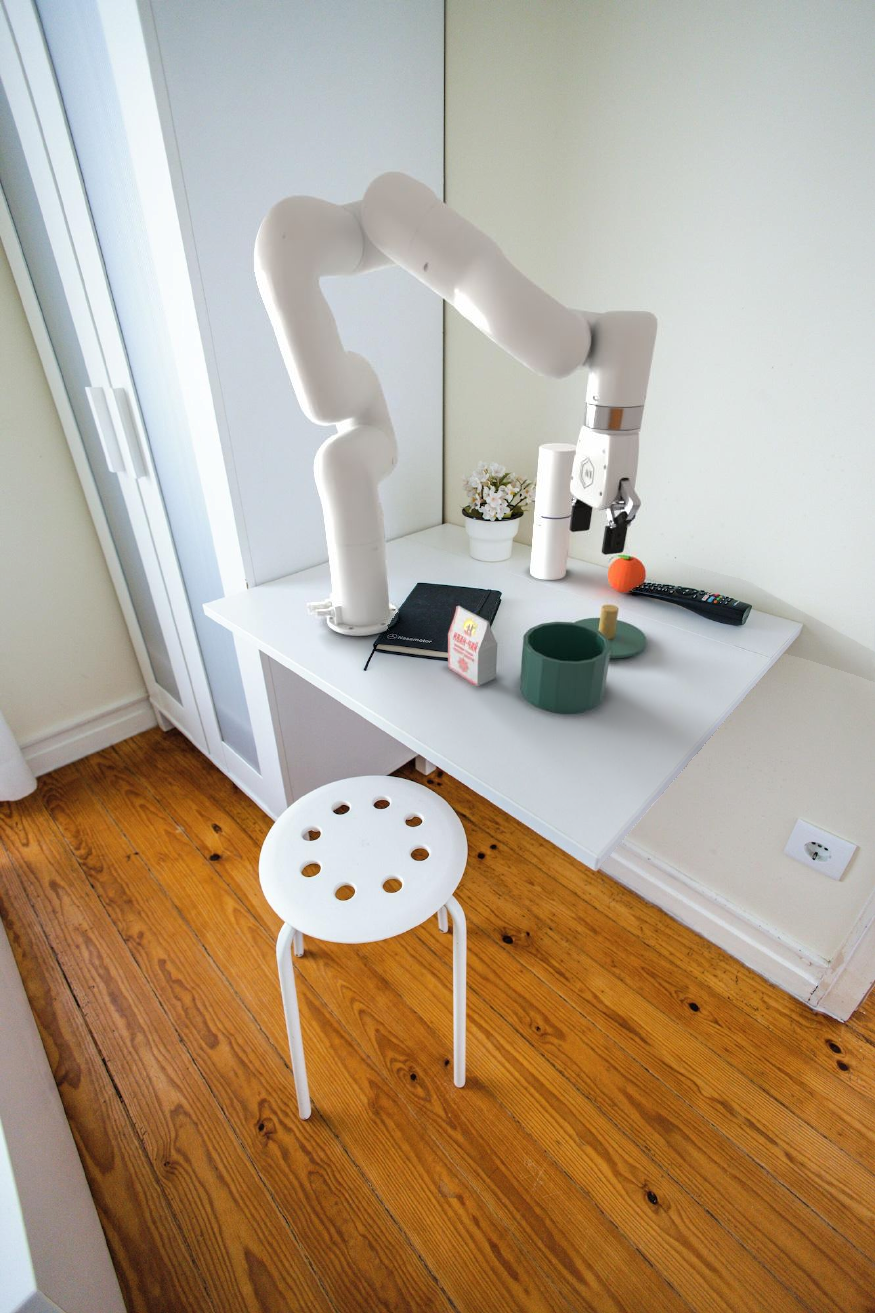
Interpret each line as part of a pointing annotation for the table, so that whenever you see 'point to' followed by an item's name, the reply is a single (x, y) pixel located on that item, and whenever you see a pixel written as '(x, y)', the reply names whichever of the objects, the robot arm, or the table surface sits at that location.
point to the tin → (564, 667)
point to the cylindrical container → (552, 511)
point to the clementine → (626, 573)
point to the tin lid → (617, 632)
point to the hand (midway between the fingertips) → (595, 541)
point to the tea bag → (472, 647)
